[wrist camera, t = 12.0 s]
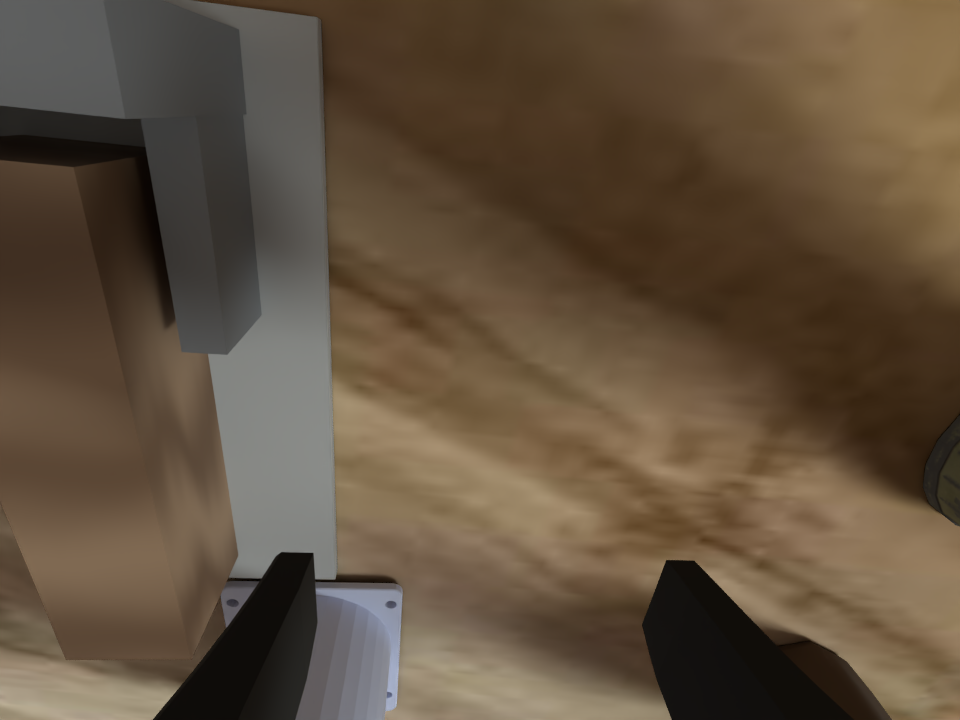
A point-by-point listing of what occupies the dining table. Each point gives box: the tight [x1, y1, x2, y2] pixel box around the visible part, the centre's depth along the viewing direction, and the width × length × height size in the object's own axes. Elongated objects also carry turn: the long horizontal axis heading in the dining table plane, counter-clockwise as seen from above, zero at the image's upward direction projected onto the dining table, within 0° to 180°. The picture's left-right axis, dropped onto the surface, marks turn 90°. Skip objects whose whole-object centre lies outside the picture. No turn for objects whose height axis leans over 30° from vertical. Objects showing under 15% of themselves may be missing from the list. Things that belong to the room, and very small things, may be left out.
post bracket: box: [0, 0, 337, 579], centre depth 15 cm, size 21×12×6 cm, turn 174°
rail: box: [0, 135, 238, 660], centre depth 16 cm, size 16×4×4 cm, turn 174°
